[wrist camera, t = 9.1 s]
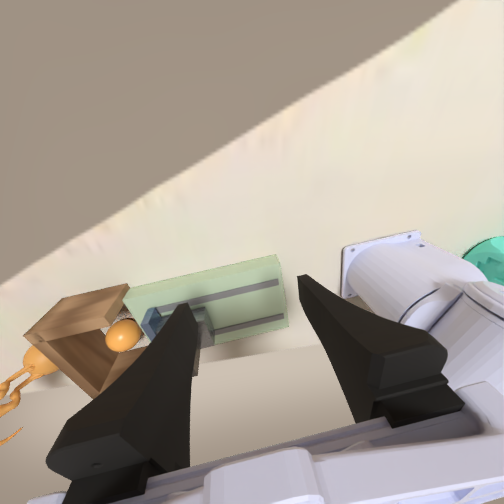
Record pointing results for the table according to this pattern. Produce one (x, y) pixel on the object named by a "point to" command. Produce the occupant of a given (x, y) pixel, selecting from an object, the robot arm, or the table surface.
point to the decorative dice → (489, 259)
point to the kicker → (205, 329)
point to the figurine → (37, 368)
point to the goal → (84, 338)
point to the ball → (123, 335)
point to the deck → (221, 298)
